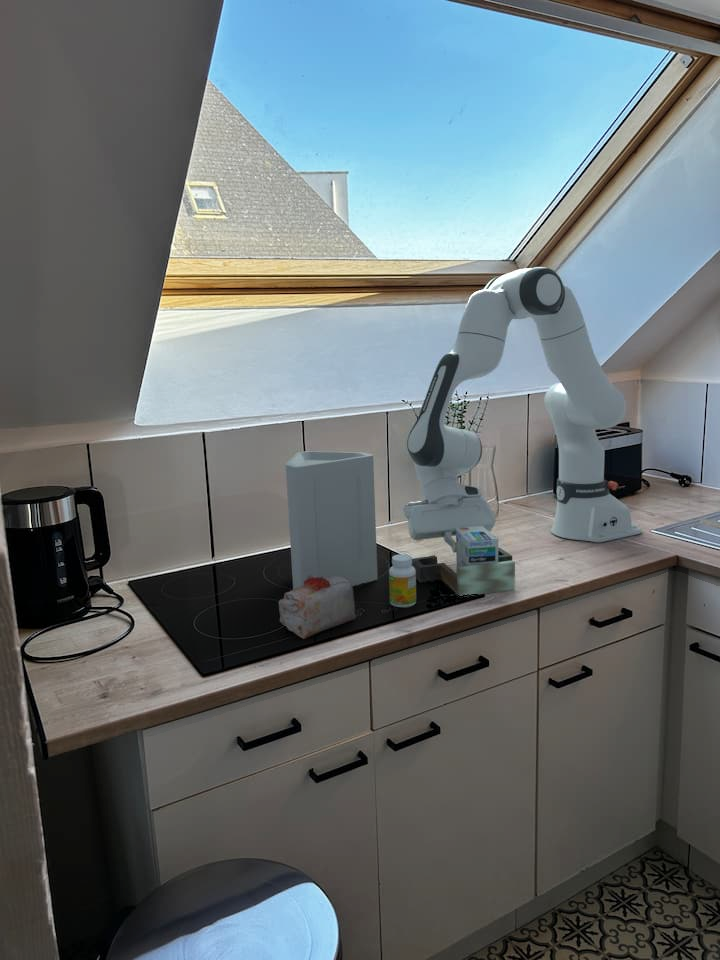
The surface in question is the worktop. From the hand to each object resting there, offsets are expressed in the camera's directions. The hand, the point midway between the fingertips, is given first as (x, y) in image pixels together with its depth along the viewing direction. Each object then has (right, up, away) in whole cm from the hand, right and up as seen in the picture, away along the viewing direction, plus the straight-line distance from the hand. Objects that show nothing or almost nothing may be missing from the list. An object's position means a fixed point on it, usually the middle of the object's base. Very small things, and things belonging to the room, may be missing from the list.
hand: (460, 550), depth 162 cm
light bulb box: (+3, -6, -4) cm, 8 cm away
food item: (-30, -12, -25) cm, 41 cm away
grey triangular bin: (-30, -7, -1) cm, 31 cm away
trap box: (+2, -6, -4) cm, 7 cm away
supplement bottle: (-14, -9, -16) cm, 23 cm away
